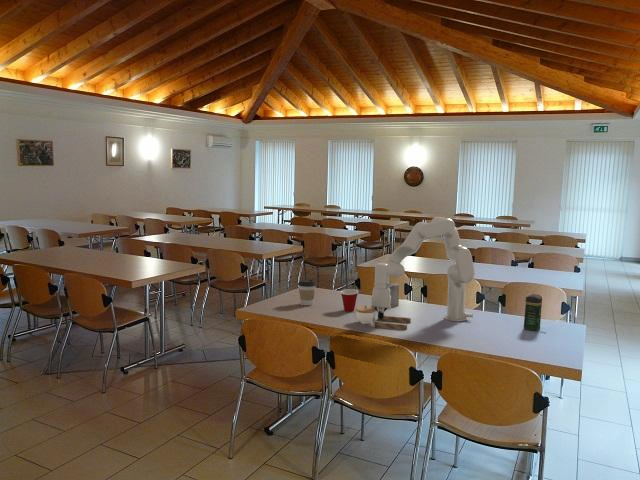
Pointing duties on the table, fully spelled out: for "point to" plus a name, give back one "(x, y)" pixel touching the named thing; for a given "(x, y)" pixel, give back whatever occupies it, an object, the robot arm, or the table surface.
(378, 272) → the robot arm
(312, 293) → the coffee cup
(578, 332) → the table surface
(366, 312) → the lidded jar
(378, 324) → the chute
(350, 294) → the plastic cup
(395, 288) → the pillar candle
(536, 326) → the coffee jar
